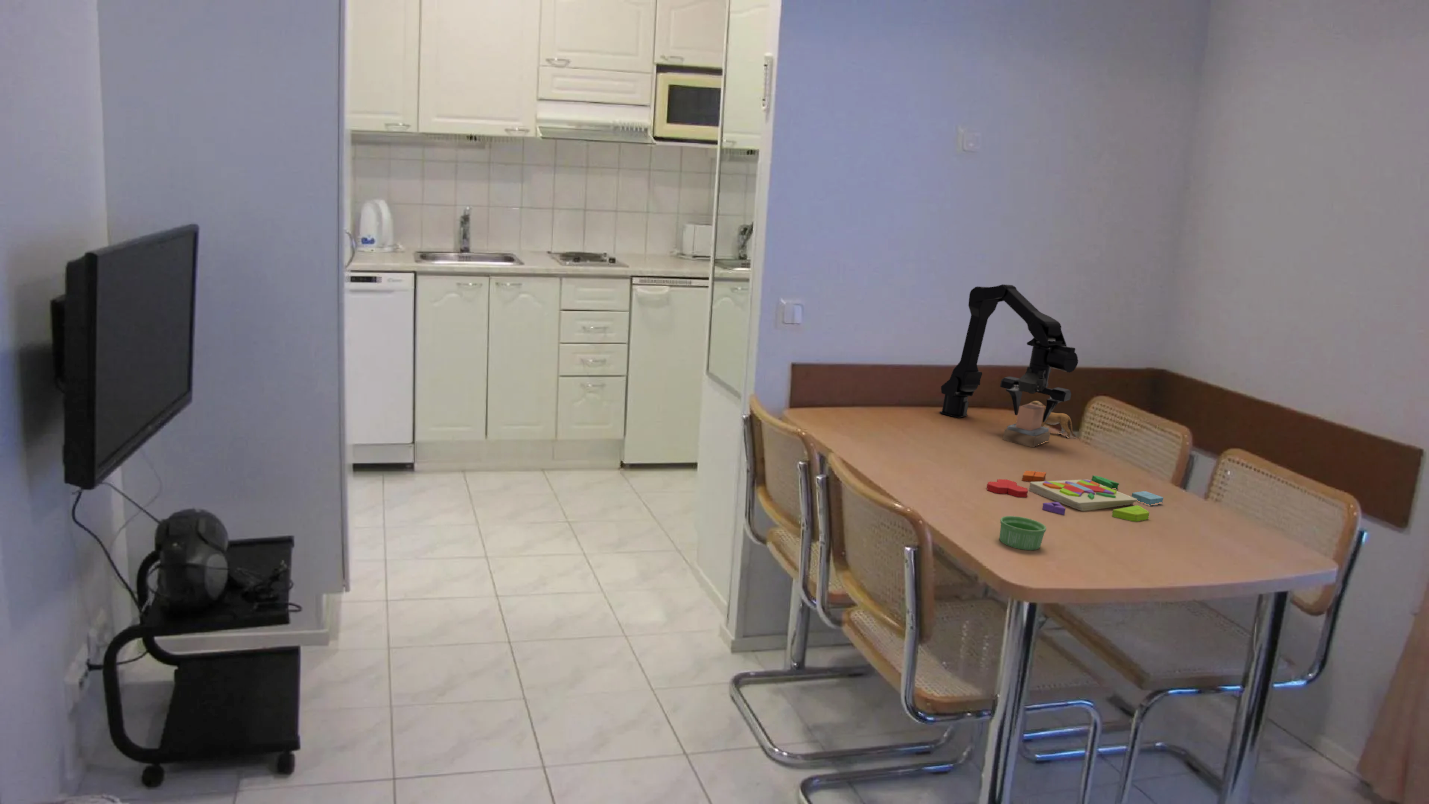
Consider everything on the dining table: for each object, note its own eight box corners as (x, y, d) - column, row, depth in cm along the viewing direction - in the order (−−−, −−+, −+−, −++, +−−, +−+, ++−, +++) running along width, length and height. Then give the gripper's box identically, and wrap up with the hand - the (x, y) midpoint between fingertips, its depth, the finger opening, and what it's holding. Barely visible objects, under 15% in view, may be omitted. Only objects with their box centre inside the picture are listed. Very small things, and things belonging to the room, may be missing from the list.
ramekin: (1050, 552, 228) (1054, 531, 227) (1009, 550, 226) (1013, 529, 225) (1029, 537, 237) (1033, 516, 236) (989, 535, 235) (993, 514, 234)
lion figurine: (1024, 431, 340) (1029, 401, 338) (1024, 427, 345) (1030, 398, 343) (1075, 440, 336) (1081, 410, 334) (1075, 436, 341) (1081, 407, 339)
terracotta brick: (1015, 426, 324) (1019, 406, 322) (1026, 423, 330) (1029, 403, 329) (1030, 430, 321) (1034, 409, 320) (1040, 427, 328) (1044, 406, 326)
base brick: (1002, 439, 324) (1005, 425, 323) (1018, 434, 334) (1021, 420, 333) (1033, 447, 319) (1035, 433, 318) (1048, 441, 329) (1051, 428, 328)
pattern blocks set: (1056, 471, 297) (1058, 460, 297) (1182, 511, 274) (1185, 498, 274) (974, 488, 270) (976, 475, 270) (1106, 533, 248) (1109, 520, 247)
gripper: (997, 359, 320) (987, 414, 324) (1062, 373, 310) (1051, 429, 313) (1012, 356, 329) (1002, 409, 333) (1076, 370, 319) (1065, 425, 322)
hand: (1029, 418), depth 325 cm, fingers open, 8 cm apart
